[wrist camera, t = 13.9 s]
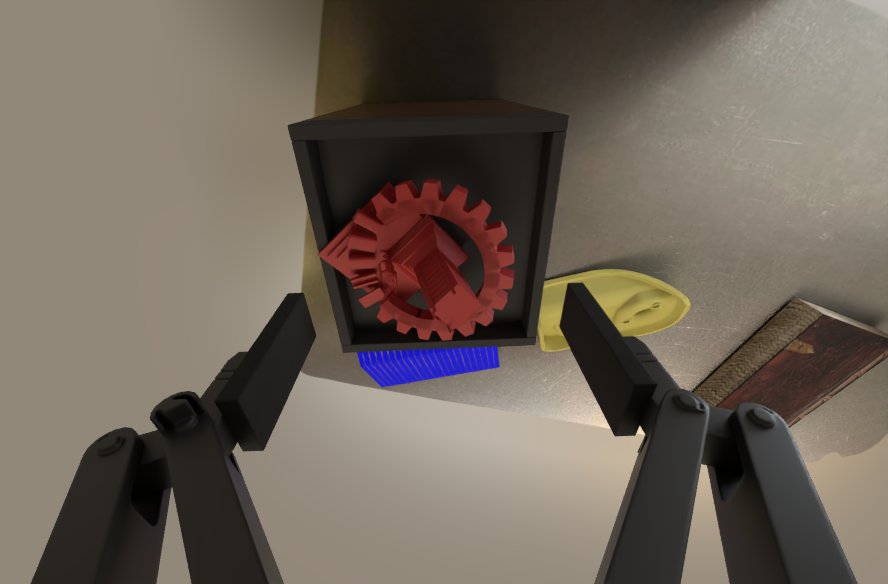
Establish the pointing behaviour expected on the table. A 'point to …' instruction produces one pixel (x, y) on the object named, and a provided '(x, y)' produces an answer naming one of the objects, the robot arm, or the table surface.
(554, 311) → the plastic component
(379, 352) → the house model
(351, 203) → the square tray
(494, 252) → the red gear mechanism
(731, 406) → the hardback book
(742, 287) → the table surface
